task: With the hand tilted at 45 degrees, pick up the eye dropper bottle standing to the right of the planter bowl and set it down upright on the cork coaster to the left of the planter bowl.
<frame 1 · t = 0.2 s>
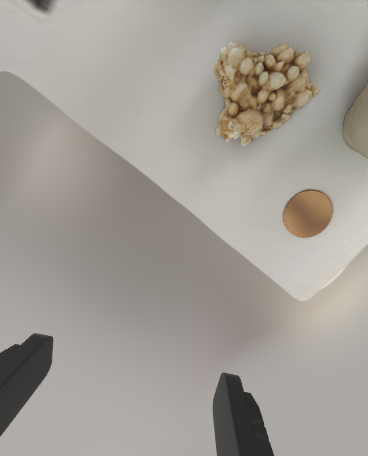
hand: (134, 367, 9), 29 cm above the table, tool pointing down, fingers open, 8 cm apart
mineral formation: (255, 106, 32), on the table
cork coaster: (306, 214, 36), on the table
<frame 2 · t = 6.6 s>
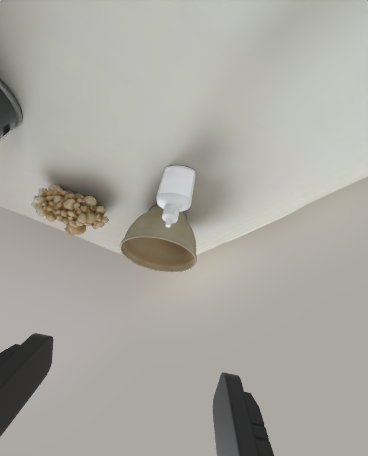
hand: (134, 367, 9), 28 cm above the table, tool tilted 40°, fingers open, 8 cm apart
planter bowl: (168, 216, 45), on the table
eye dropper bottle: (180, 172, 34), on the table
mineral formation: (86, 201, 45), on the table
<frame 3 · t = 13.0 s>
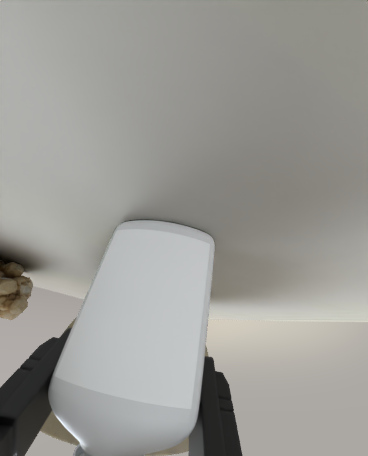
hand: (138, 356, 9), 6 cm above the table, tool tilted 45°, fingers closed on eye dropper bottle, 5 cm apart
planter bowl: (154, 287, 23), on the table
eye dropper bottle: (167, 233, 11), on the table, touching gripper
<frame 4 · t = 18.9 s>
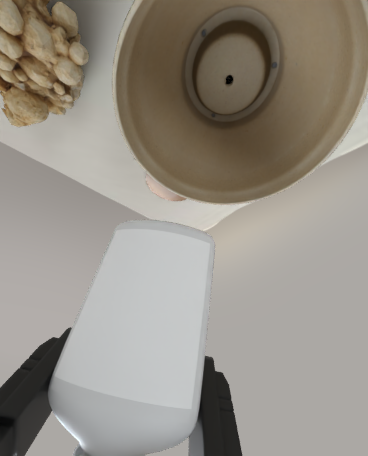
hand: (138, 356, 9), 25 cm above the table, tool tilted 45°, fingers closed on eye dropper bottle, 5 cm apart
planter bowl: (229, 74, 19), on the table
eye dropper bottle: (167, 233, 11), point 19 cm above the table, touching gripper
mineral formation: (45, 41, 20), on the table
cork coaster: (170, 182, 34), on the table
when the fingers open (7 cm above the table, at t = 24.9 s): eye dropper bottle stays where it is, resting on cork coaster.
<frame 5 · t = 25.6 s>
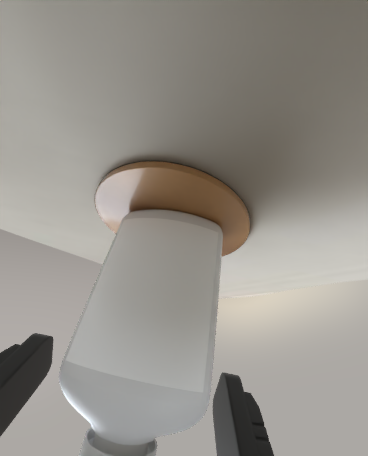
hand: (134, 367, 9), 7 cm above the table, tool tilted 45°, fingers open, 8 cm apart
eye dropper bottle: (174, 223, 11), resting on cork coaster
cork coaster: (172, 223, 11), on the table
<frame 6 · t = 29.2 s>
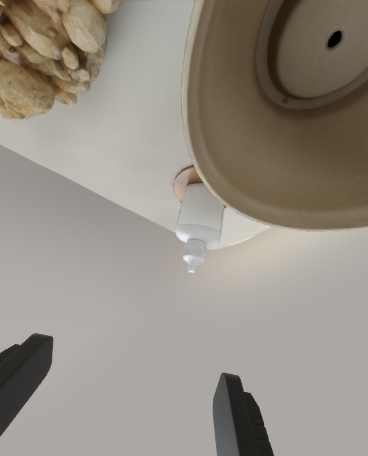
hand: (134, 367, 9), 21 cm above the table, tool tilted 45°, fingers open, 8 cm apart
planter bowl: (327, 35, 13), on the table
eye dropper bottle: (205, 190, 27), resting on cork coaster
cork coaster: (203, 190, 27), on the table
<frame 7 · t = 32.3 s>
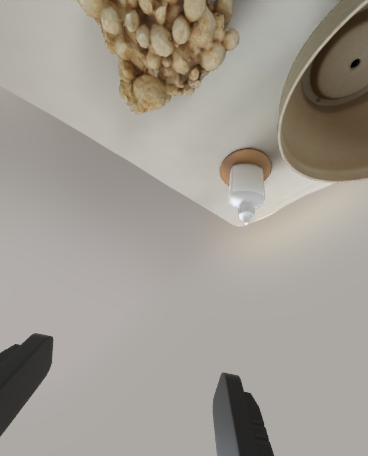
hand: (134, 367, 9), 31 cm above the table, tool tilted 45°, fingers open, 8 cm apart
planter bowl: (349, 59, 21), on the table
eye dropper bottle: (246, 169, 35), resting on cork coaster
mineral formation: (172, 31, 21), on the table
cork coaster: (244, 170, 35), on the table
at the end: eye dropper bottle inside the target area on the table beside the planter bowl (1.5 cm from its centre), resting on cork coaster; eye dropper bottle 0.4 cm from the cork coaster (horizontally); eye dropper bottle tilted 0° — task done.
